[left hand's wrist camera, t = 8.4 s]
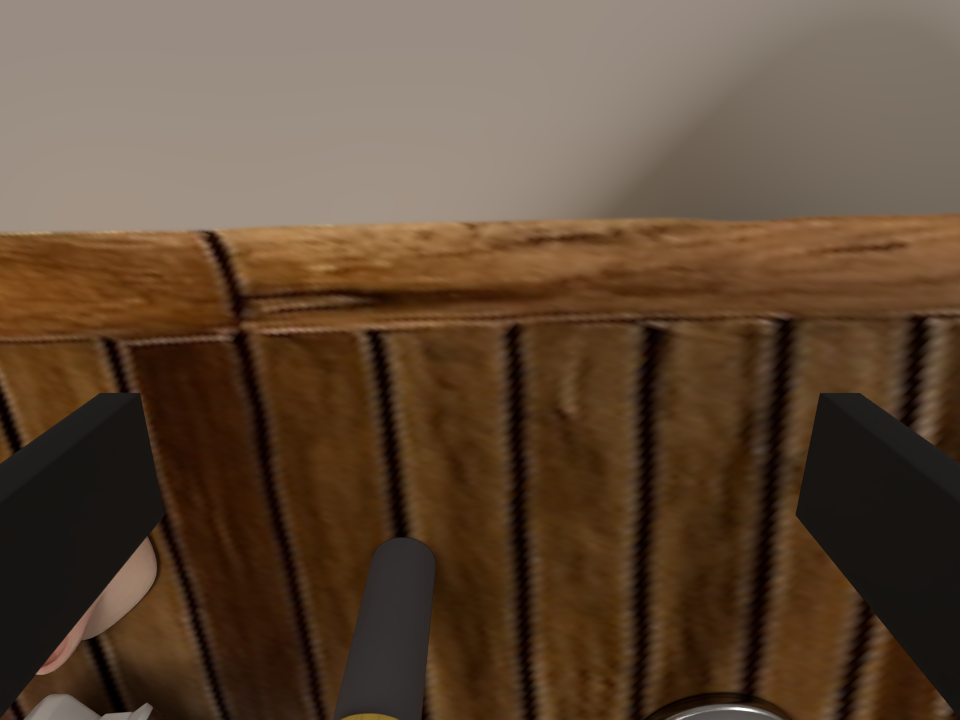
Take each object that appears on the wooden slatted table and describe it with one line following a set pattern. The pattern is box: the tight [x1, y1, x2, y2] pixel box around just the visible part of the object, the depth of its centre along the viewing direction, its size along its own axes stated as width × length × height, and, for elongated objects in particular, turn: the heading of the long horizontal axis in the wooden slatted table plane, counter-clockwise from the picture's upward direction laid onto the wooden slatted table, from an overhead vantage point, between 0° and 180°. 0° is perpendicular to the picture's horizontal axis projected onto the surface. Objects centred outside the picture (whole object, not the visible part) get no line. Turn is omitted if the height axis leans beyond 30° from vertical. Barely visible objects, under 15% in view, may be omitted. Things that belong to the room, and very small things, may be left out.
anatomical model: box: [36, 536, 157, 675], centre depth 44 cm, size 13×4×12 cm
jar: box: [333, 537, 436, 720], centre depth 39 cm, size 5×5×16 cm
